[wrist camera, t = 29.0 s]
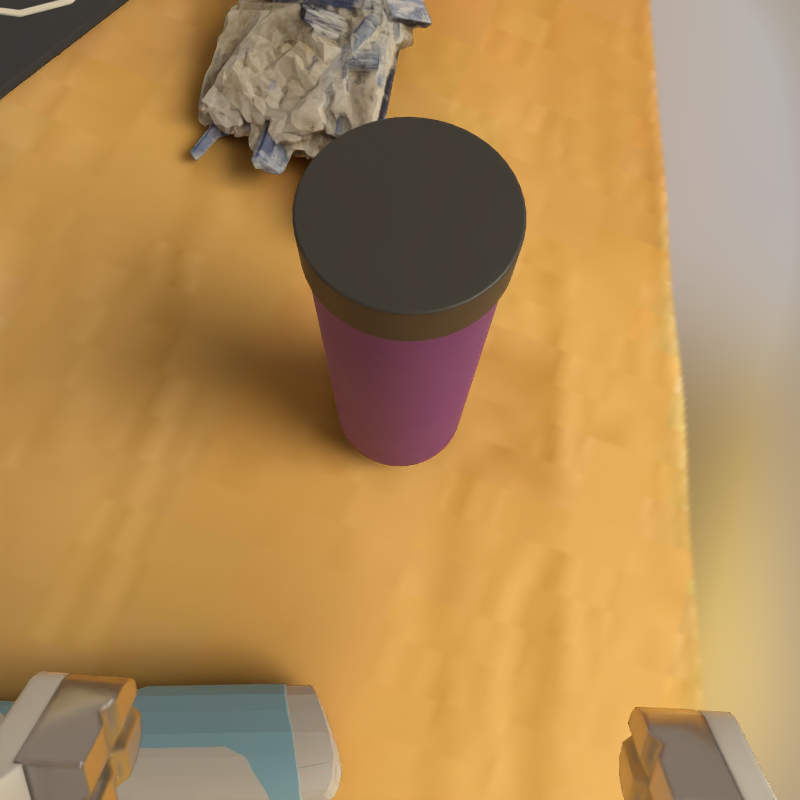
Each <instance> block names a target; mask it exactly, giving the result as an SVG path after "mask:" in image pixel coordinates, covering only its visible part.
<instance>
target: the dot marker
mask: <svg viewBox="0 0 800 800" xmlns="http://www.w3.org/2000/svg"><path fill="white" fill-rule="evenodd" d="M293 227H294V233H295V238H296V243H297V247H298V252H299V256H300V261H301V265H302V268H303V271H304V274H305V277H306V280H307V282H308V284H309V286H310V288H311V290H312V293H313V297H314V302H315V307H316V312H317V316H318V321H319V326H320V330H321V335H322V340H323V345H324V349H325V354H326V359H327V364H328V368H329V373H330V378H331V383H332V387H333V392H334V397H335V401H336V406H337V411H338V416H339V420H340V424H341V427H342V429H343V432H344V434H345V436H346V437H347V439H348V440H349V442H350V443H351V444H352V445H353V446H354V447H355V448H356V449H357V450H358V451H359V452H360V453H361V454H363V455H364V456H366V457H368V458H369V459H371V460H374V461H376V462H379V463H382V464H386V465H391V466H408V465H414V464H418V463H421V462H424V461H426V460H428V459H430V458H432V457H433V456H435V455H436V454H438V453H439V452H440V451H441V450H442V449H444V447H445V446H446V445H447V444H448V443H449V442H450V440H451V439H452V437H453V435H454V433H455V431H456V429H457V426H458V423H459V420H460V417H461V414H462V411H463V408H464V405H465V402H466V399H467V396H468V392H469V389H470V386H471V383H472V380H473V377H474V374H475V371H476V368H477V365H478V362H479V359H480V355H481V352H482V349H483V346H484V343H485V340H486V337H487V334H488V331H489V328H490V325H491V322H492V318H493V315H494V312H495V309H496V306H497V303H498V300H499V299H500V297H501V296H502V294H503V293H504V292H505V290H506V288H507V286H508V284H509V282H510V279H511V276H512V273H513V270H514V267H515V265H516V262H517V259H518V256H519V253H520V250H521V247H522V244H523V240H524V236H525V230H526V207H525V201H524V197H523V194H522V190H521V187H520V185H519V183H518V181H517V179H516V176H515V174H514V173H513V171H512V170H511V168H510V167H509V165H508V164H507V162H506V161H505V160H504V159H503V158H502V157H501V156H500V154H499V153H498V152H497V151H495V150H494V149H493V148H492V147H491V146H490V145H489V144H487V143H486V142H485V141H483V140H482V139H480V138H479V137H477V136H476V135H474V134H472V133H470V132H468V131H467V130H465V129H462V128H460V127H457V126H455V125H452V124H449V123H446V122H442V121H438V120H433V119H427V118H418V117H395V118H388V119H381V120H377V121H373V122H369V123H366V124H363V125H361V126H358V127H355V128H353V129H351V130H349V131H347V132H345V133H343V134H341V135H340V136H338V137H337V138H335V139H334V140H333V141H331V142H330V143H329V144H327V145H326V146H325V147H324V148H323V149H322V150H321V151H320V152H319V153H318V154H317V155H316V156H315V157H314V158H313V160H312V161H311V162H310V164H309V165H308V167H307V168H306V170H305V171H304V173H303V175H302V177H301V180H300V182H299V184H298V187H297V190H296V193H295V196H294V203H293Z"/></svg>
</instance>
